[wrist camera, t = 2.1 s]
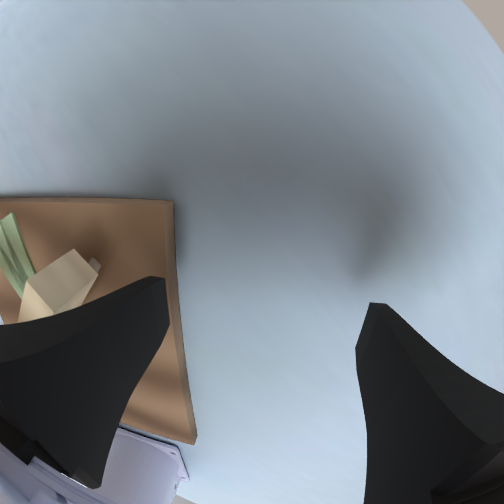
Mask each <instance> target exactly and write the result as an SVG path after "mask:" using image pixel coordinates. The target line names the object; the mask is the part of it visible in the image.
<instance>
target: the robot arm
mask: <svg viewBox="0 0 504 504" xmlns="http://www.w3.org/2000/svg"><path fill="white" fill-rule="evenodd" d="M169 325H170V318H169V309H168V301H167V291H166V281H165V278H162V277H156V276H148V277H145V278H142V279H140V280H137V281H135V282H133V283H131V284H128V285H126V286H124V287H122V288H120V289H118V290H115V291H113V292H111V293H109V294H107V295H105V296H102V297H100V298H98V299H95V300H93V301H91V302H88V303H86V304H84V305H81V306H79V307H76V308H73V309H70V310H68V311H64V312H61V313H58V314H55V315H52V316H48V317H43V318H39V319H35V320H31V321H26V322H20V323H14V324H5V325H0V504H172V502H173V499H174V496H175V493H176V490H177V488H178V485H179V482H180V481H184V482H189V477H188V474H187V472H186V469H185V466H184V464H183V461H182V458H181V455H180V452H179V450H178V448H177V447H175V446H172V445H168V444H165V443H162V442H158V441H155V440H152V439H149V438H146V437H143V436H140V435H137V434H135V433H132V432H129V431H126V430H124V429H121V428H119V427H118V425H119V423H120V420H121V418H122V415H123V413H124V410H125V408H126V406H127V403H128V401H129V399H130V397H131V395H132V393H133V391H134V389H135V388H136V386H137V384H138V383H139V381H140V379H141V378H142V376H143V374H144V373H145V371H146V369H147V368H148V366H149V364H150V363H151V361H152V360H153V358H154V356H155V355H156V353H157V351H158V350H159V348H160V346H161V344H162V342H163V340H164V337H165V335H166V333H167V330H168V328H169ZM355 350H356V367H357V376H358V381H359V387H360V392H361V397H362V403H363V409H364V415H365V421H366V429H367V474H366V487H365V496H364V504H504V394H503V393H501V392H499V391H497V390H495V389H493V388H491V387H489V386H487V385H486V384H484V383H482V382H481V381H479V380H477V379H476V378H474V377H472V376H471V375H469V374H468V373H466V372H465V371H464V370H462V369H461V368H459V367H458V366H457V365H455V364H454V363H453V362H451V361H450V360H449V359H447V358H446V357H445V356H444V355H442V354H441V353H440V352H439V351H438V350H437V349H435V348H434V347H433V346H432V345H431V344H430V343H429V342H427V341H426V340H425V339H424V338H423V337H422V336H421V335H420V334H419V333H418V332H417V331H416V330H414V329H413V328H412V327H411V326H410V325H409V324H408V323H407V322H406V321H405V320H404V319H403V318H402V317H401V316H400V315H399V314H398V313H396V312H395V311H394V310H393V309H392V308H391V307H390V306H388V305H387V304H384V303H371V302H370V304H369V307H368V310H367V314H366V317H365V320H364V323H363V326H362V329H361V332H360V335H359V338H358V341H357V344H356V347H355ZM61 473H63V474H64V475H63V474H61ZM65 475H66V476H68V477H69V478H68V477H66V476H65ZM70 478H72V479H74V480H76V481H77V482H79V483H81V484H83V485H85V486H86V487H87V488H86V487H84V486H82V485H80V484H78V483H76V482H75V481H73V480H71V479H70Z"/></svg>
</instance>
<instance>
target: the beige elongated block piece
mask: <svg viewBox="0 0 504 504" xmlns="http://www.w3.org/2000/svg"><path fill="white" fill-rule="evenodd" d="M98 275H99V274H98V273H97V272H96V271H95V270H94V269H93V268H92V267H91V266H90V265H89V264H88V263H87V262H86V261H85V260H84V259H83V258H82V257H81V256H80V255H79V253H78V252H77V251H76V250H75V249H72V250H71V251H69V252H68V253H66V254H65V255H63V256H61V257H60V258H58V259H57V260H55V261H54V262H52V263H51V264H49V265H48V266H46V267H45V268H43V269H42V270H41V271H39V272H38V273H36V274H35V275H33V276H32V277H30V278H29V279H28V280H26V284H25V288H24V293H23V297H22V302H21V307H20V312H19V318H18V322H17V323H20V322H26V321H31V320H35V319H39V318H43V317H48V316H52V315H55V314H58V313H61V312H64V311H68V310H70V309H73V308H76V307H79V306H81V305H82V303H83V301H84V299H85V297H86V296H87V294H88V292H89V290H90V288H91V287H92V285H93V283H94V281H95V280H96V278H97V276H98Z"/></svg>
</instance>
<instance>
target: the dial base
mask: <svg viewBox="0 0 504 504" xmlns="http://www.w3.org/2000/svg"><path fill="white" fill-rule="evenodd" d="M72 249H75V250H76V251H77V252H78V253H79V255H80V256H81V257H82V258H83V259H84V260H85V261H86V262H87V263H88V264H89V265H90V266H91V267H92V268H93V269H94V270H95V271H96V272H97V273H98V274H99V275H98V276H97V278H96V280H95V281H94V283H93V285H92V287H91V288H90V290H89V292H88V294H87V296H86V297H85V299H84V301H83V303H82V305H84V304H86V303H88V302H91V301H93V300H95V299H98V298H100V297H102V296H105V295H107V294H109V293H111V292H113V291H115V290H118V289H120V288H122V287H124V286H126V285H128V284H131V283H133V282H135V281H137V280H140V279H142V278H145V277H148V276H156V277H162V278H165V281H166V291H167V301H168V309H169V318H170V325H169V328H168V330H167V333H166V335H165V337H164V340H163V342H162V344H161V346H160V348H159V350H158V351H157V353H156V355H155V356H154V358H153V360H152V361H151V363H150V364H149V366H148V368H147V369H146V371H145V373H144V374H143V376H142V378H141V379H140V381H139V383H138V384H137V386H136V388H135V389H134V391H133V393H132V395H131V397H130V399H129V401H128V403H127V406H126V408H125V410H124V413H123V415H122V418H121V420H120V422H121V423H124V424H126V425H129V426H132V427H135V428H137V429H140V430H143V431H146V432H149V433H152V434H155V435H159V436H162V437H165V438H169V439H172V440H176V441H180V442H183V443H187V444H191V445H194V444H195V441H196V438H197V431H196V426H195V420H194V414H193V409H192V403H191V396H190V390H189V383H188V376H187V369H186V362H185V354H184V346H183V337H182V328H181V319H180V308H179V297H178V285H177V271H176V255H175V235H174V203H173V201H170V200H151V199H128V198H94V197H14V198H0V315H1V317H2V320H3V322H4V325H5V324H14V323H17V322H18V318H19V312H20V307H21V302H22V297H23V293H24V288H25V284H26V280H28V279H29V278H30V277H32V276H33V275H35V274H36V273H38V272H39V271H41V270H42V269H43V268H45V267H46V266H48V265H49V264H51V263H52V262H54V261H55V260H57V259H58V258H60V257H61V256H63V255H65V254H66V253H68V252H69V251H71V250H72Z"/></svg>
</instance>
